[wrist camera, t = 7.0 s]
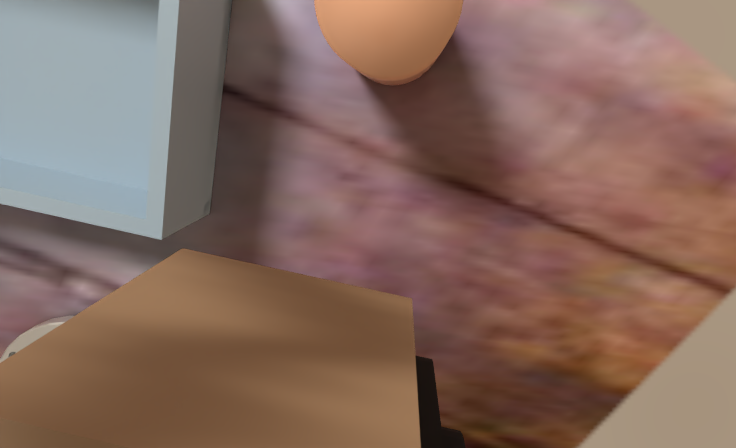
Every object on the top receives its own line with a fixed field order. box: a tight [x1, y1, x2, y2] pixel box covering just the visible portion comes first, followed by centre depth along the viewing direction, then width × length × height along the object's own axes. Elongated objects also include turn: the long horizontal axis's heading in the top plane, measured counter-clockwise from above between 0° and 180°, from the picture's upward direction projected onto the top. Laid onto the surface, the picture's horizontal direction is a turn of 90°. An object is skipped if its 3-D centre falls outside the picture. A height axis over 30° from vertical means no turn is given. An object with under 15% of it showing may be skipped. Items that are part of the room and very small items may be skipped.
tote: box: [0, 0, 232, 240], centre depth 20 cm, size 18×14×5 cm
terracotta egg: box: [314, 0, 463, 85], centre depth 18 cm, size 5×5×7 cm
